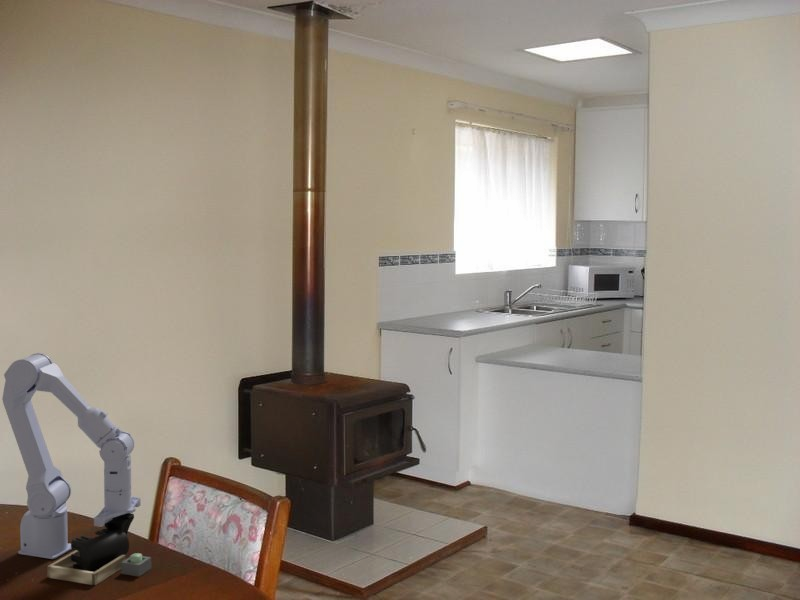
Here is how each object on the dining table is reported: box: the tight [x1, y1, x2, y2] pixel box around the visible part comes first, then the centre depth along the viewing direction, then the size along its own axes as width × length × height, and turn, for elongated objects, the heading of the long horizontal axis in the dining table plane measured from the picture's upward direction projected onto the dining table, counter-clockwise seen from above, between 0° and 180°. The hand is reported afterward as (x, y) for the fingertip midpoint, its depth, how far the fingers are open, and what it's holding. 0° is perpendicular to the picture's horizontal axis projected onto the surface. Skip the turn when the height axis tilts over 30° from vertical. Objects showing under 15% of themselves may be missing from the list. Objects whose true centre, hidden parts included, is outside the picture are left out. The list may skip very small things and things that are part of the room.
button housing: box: [120, 555, 152, 578], centre depth 182 cm, size 4×4×2 cm
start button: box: [129, 552, 143, 563], centre depth 182 cm, size 2×2×3 cm
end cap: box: [70, 528, 130, 571], centre depth 184 cm, size 10×7×7 cm
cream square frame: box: [46, 550, 127, 586], centre depth 181 cm, size 12×10×2 cm
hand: (118, 547), depth 191 cm, fingers closed
